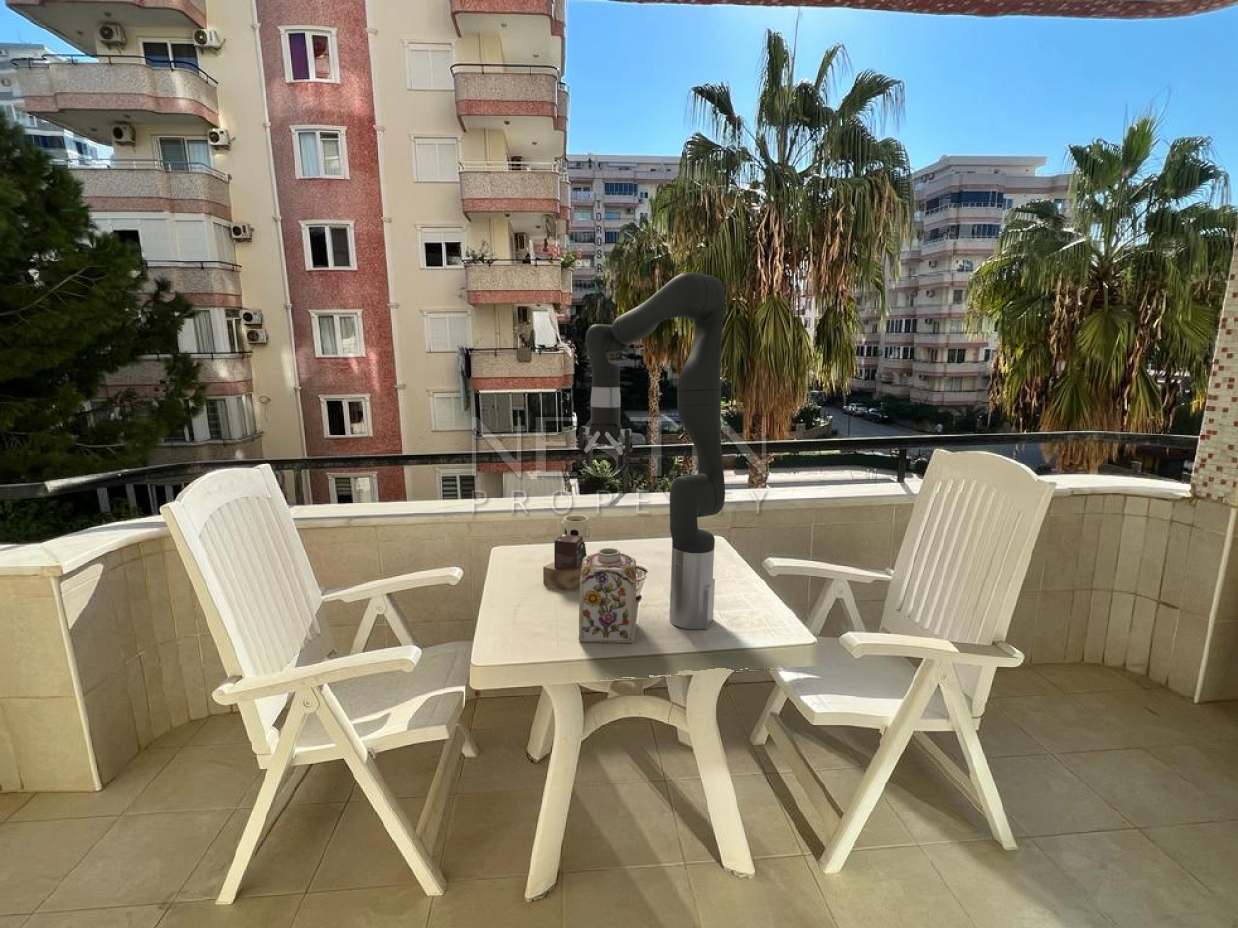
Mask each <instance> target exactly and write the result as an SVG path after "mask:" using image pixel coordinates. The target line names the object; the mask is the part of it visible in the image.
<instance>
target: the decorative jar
mask: <svg viewBox="0 0 1238 928" xmlns="http://www.w3.org/2000/svg"><path fill="white" fill-rule="evenodd" d="M636 566H637V561H636V559H635V558H633V557H632V556H630V555H628V554H625V553H621V550H619V549H618V548H613V547H607V548H606V547H605V548H602V549H601V548H600V549H599V550H598V551H597V553H593V554H589V555H586V557H584V558H583V560H582V567H581V569H582V570H581V573H580V579H579V580H580V588H579V601H578V602H579V609H578V641H579V642H581V643H606V644H607V643H609V644H634V643H635V640H636V638H635V637H636V635H635V633H636V618H637V617H636V613H637V612H636V609H637V608H636V605H637V603H636V602H637V568H636Z"/></svg>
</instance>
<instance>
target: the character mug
mask: <svg viewBox="0 0 1238 928" xmlns="http://www.w3.org/2000/svg"><path fill="white" fill-rule="evenodd" d="M589 522H590V519H589V517H588V516H585V515H581V514H578V515H577V514H572V515H567V516H564V518H563V520H562V521H561V523H560V531H561V532H562V535H574V536H583V558H584V557H586V556H587V549H586V541H588V540H589V539H592V537H593V536H592V535H593V534H592V533H593V529H592V527H591V526H589V525H590V523H589Z"/></svg>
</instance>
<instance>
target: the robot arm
mask: <svg viewBox="0 0 1238 928" xmlns="http://www.w3.org/2000/svg"><path fill="white" fill-rule="evenodd" d="M723 285H724V284H722V281H721V280H720V279H719V278H718V277H716V276H714V275H709V274H706V273H704V274H703V273H699V272H691V271H686V272H682V273H680V274H678V275H675V277H673V278H671V280H669V281H668V282H667V283H665V284H664V286H662V287H661V288H660V289H659V290H657V292H655V293H654V294H652V296H650V297H649V298H648V299H647V300H645V301H644V302H643V303H641V304H640V305H638V306H636V307H635V308H632V309H630V310H628V311H627V312H625V313H622V314H621V315H619V316H618V317H616V318H615V320H614V321H613V322H612V324H601V323H598V324H597V323H596V324H592V325H590V327H589V328H588V330H587V331H586V333H585V347H586V351H587V356H588V359H589V363H590V367H591V371H592V372H591V375H592V376H591V394H590V426H589V427H588V426H586V425H582V426H580V427H579V428H578V443H577V448H578V450H580V451H583V452H584V460H585V461H584V463H585V465H586V467H588V468H591V467H593V464H594V461H593V460H594V457H593V456H594V455H593V454H594V452H593V449H594V448H595V447H596V446H597V445H601V446H602V445H605V446H610V445H611V446H612V447H613V449H615V451H616V452H617V453H618V454H617V469H618V470H622V469H623V468H624V467H625V466H626V454H630V453H632V452H633V450H634V448H633V447H634V445H633V430H632V428H625V429H623V428H621V388H620V386H621V384H620V383H621V381H620V380H621V372H620V371H621V369H620V366H619V365H618V364H616V363H613V362H610V361H609V359H608V357H607V354H614V355H615V354H619V353H622V352H625V351H626V350H627V349H628V348H629V347H630V346H631V345H632V344H633V343H635V342H638V341H640V340H642V339H644V338H646V337H648V336H650V335H652V333H654V331H655V330H656V329H657V327H658V325H659V324H660V323H661V322H663V321H667V320H669V319H674V318H684V319H688V320H689V319H690V320H693V323H694V332H693V342H692V343H693V344H692V349H691V350H690V353H689V355H688V358H687V360H686V362H685V363H684V366H682V370H681V372H680V375H679V377H678V381H677V388H676V389H677V390H676V391H677V392H676V394H677V395H676V396H677V397H676V398H677V399H676V400H677V401H676V402H677V414H678V417H679V420H680V423H681V424H682V426H683V428H684V430H685V432H686V433H687V435H688V437H689V439H690V440H691V442H692V443H693V446H694V449H695V452H696V457H697V469H698V470H697V474H689V475H688V474H687V475H680V476H677V477H675V478H674V480H673V481H672V483H671V485H670V489H669V530H670V531H669V532H670V535H671V565H670V567H671V569H670V591H669V592H670V593H669V594H670V595H669V613H668V614H669V619H668V620H669V621H670V623H671V624H672V625H674V626H675V627H679V628H682V629H687V630H700V629H701V630H708V628H709V627H710V625H711V623H712V622H713V619H714V606H715V583H716V579H715V578H714V564H715V563H714V562H715V561H714V560H715V558H714V557H715V547H716V546H715V545H716V544H715V543H716V542H715V540H716V539H715V535H714V534H712V533H711V532H710V531H707V530H704V529H700V528H699V526H698V525H699V524H698V518H702V517H710V516H714V515H717V514H719V513H720V512H721V511H722V509H723V508H724V505H725V501H726V500H725V499H726V484H725V474H724V464H723V456H722V427H721V422H722V421H721V418H722V417H721V411H722V385H721V383H722V382H721V381H722V380H721V367H722V365H721V363H722V337H723V326H724V317H725V302H726V298H725V296H726V294H725V289H724V286H723ZM589 433H590V435H591V436H592V438H591V439H590V440H589V442H588V444H587V438H588V437H587V436H588V435H589ZM621 435H622V437H623V438H624V444H623V442H622V441H621V440H620V436H621ZM623 445H624V446H623Z"/></svg>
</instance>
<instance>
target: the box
mask: <svg viewBox="0 0 1238 928" xmlns="http://www.w3.org/2000/svg"><path fill="white" fill-rule="evenodd" d="M553 542H554V548H553V549H554V552H553V553H554V554H553V555H554V557H553V558H554V567H555V568H563V569H572V570H576V569H578V567H579V566H580V565H581V564H582V560H583V536H574V535H563V534H561V535H560V536H557V538H556V539H554V541H553Z"/></svg>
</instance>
